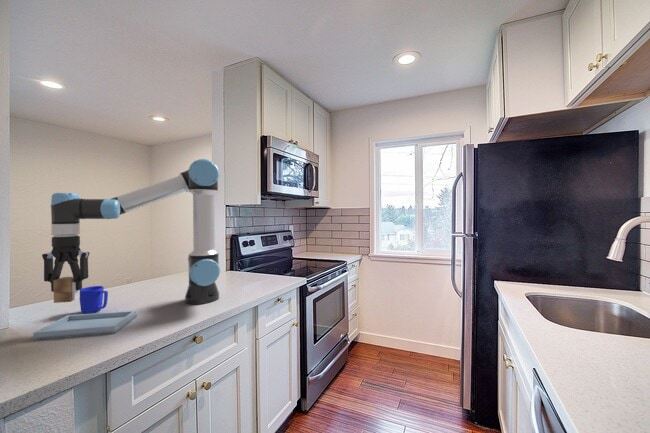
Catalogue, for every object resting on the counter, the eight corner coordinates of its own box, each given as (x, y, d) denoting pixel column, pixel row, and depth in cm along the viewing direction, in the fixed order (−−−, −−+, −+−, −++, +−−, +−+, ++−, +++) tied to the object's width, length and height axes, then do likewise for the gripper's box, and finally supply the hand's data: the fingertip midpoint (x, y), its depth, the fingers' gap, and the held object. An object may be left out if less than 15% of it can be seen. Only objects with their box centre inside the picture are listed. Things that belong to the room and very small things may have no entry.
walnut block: (79, 297, 104) (79, 276, 104) (70, 301, 99) (70, 279, 99) (64, 298, 103) (63, 277, 103) (53, 302, 98) (53, 280, 98)
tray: (136, 316, 113) (136, 310, 113) (115, 333, 97) (115, 326, 97) (67, 321, 108) (67, 315, 108) (33, 340, 92) (33, 332, 92)
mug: (97, 316, 113) (96, 291, 113) (73, 314, 116) (73, 290, 116) (116, 309, 121) (115, 286, 121) (93, 307, 124) (93, 285, 124)
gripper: (100, 234, 106) (101, 295, 106) (44, 235, 103) (45, 298, 103) (87, 235, 99) (88, 301, 99) (27, 237, 95) (28, 304, 95)
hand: (67, 299), depth 101 cm, fingers closed on walnut block, 5 cm apart
